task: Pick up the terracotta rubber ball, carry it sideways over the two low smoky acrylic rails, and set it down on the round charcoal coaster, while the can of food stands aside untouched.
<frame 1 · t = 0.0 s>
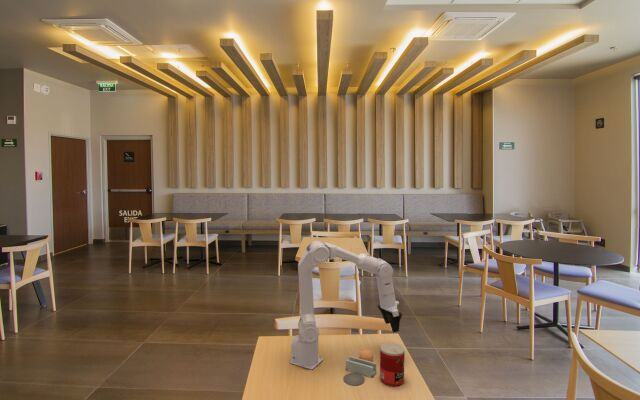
hand: (392, 327, 141), 11 cm above the table, tool pointing down, fingers open, 7 cm apart
canned food: (391, 380, 125), on the table
acrylic fence: (360, 371, 130), on the table
coaster: (354, 379, 125), on the table
ball: (366, 363, 136), on the table
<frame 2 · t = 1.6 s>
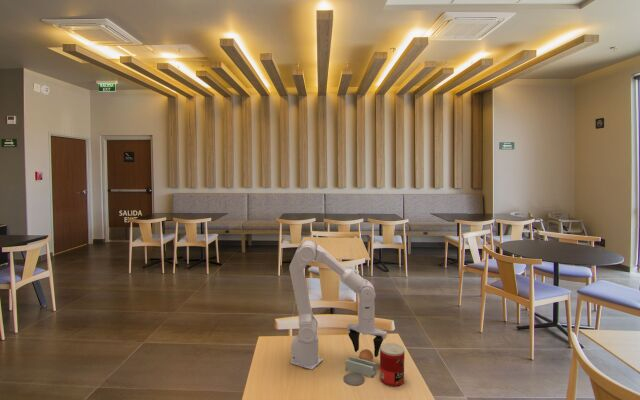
hand: (366, 353, 135), 4 cm above the table, tool pointing down, fingers open, 7 cm apart
nothing on the table moved.
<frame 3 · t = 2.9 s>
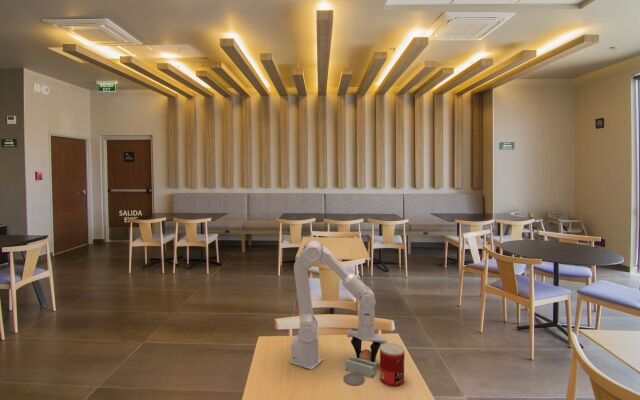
hand: (366, 359, 135), 1 cm above the table, tool pointing down, fingers closed on ball, 5 cm apart
ball: (366, 363, 136), on the table, touching gripper
everything else where it was.
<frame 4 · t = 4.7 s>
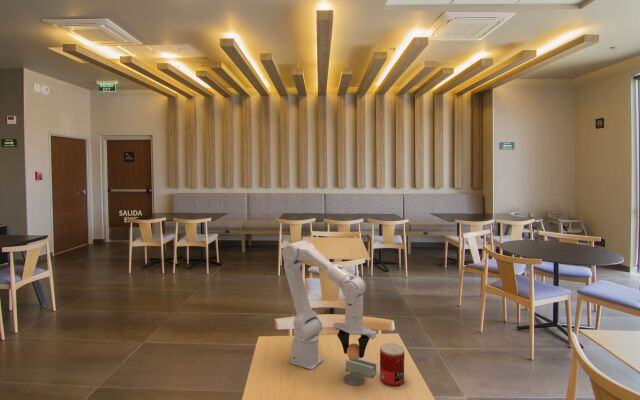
hand: (354, 354, 125), 9 cm above the table, tool pointing down, fingers closed on ball, 5 cm apart
ball: (354, 358, 125), point 7 cm above the table, touching gripper
everything else where it was.
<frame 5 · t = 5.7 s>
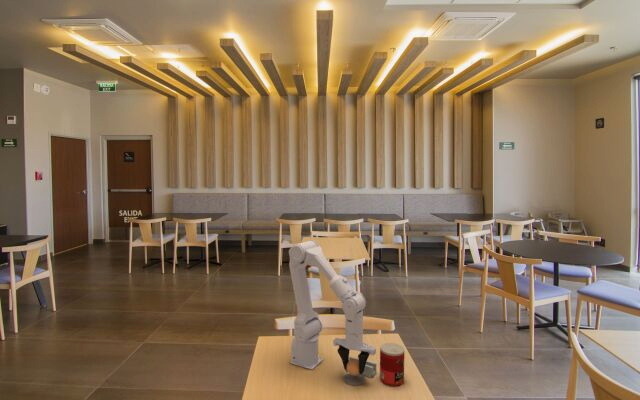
hand: (354, 370, 125), 3 cm above the table, tool pointing down, fingers closed on ball, 5 cm apart
ball: (354, 374, 125), point 2 cm above the table, touching gripper
everything else where it was.
when the fingers open (3 cm above the table, at t = 6.5 s): ball drops 1 cm, resting on coaster.
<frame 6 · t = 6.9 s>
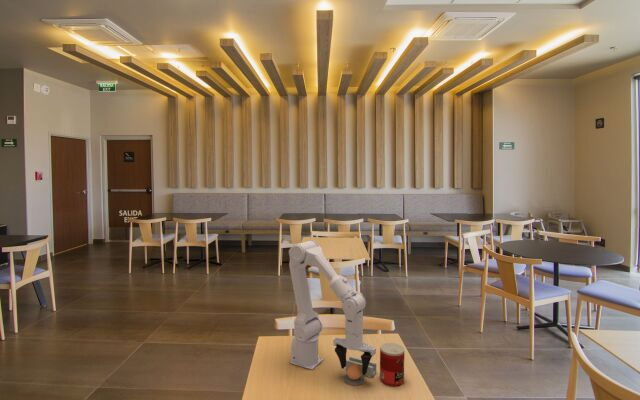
hand: (354, 370, 125), 3 cm above the table, tool pointing down, fingers open, 7 cm apart
ball: (354, 378, 126), resting on coaster
everything else where it was.
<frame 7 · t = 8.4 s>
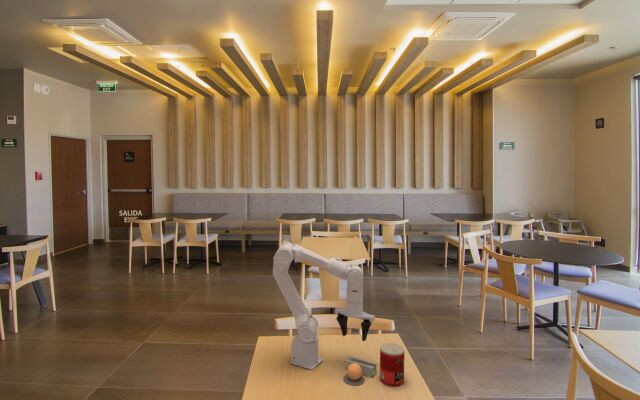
hand: (354, 337, 134), 10 cm above the table, tool pointing down, fingers open, 7 cm apart
nothing on the table moved.
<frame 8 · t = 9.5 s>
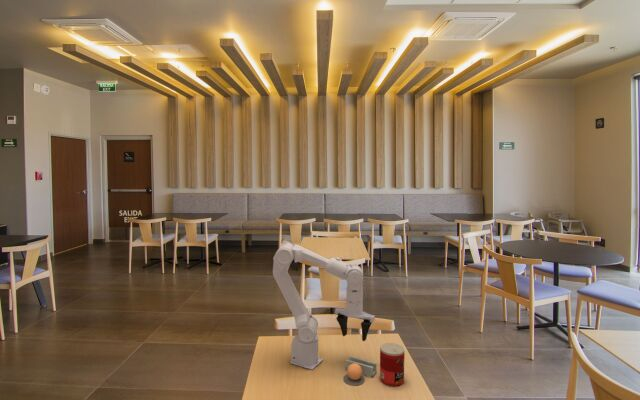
hand: (354, 337, 134), 10 cm above the table, tool pointing down, fingers open, 7 cm apart
nothing on the table moved.
at the end: ball 0.1 cm off-centre on the coaster, point 0.3 cm above the coaster's base; the gripper is holding nothing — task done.
